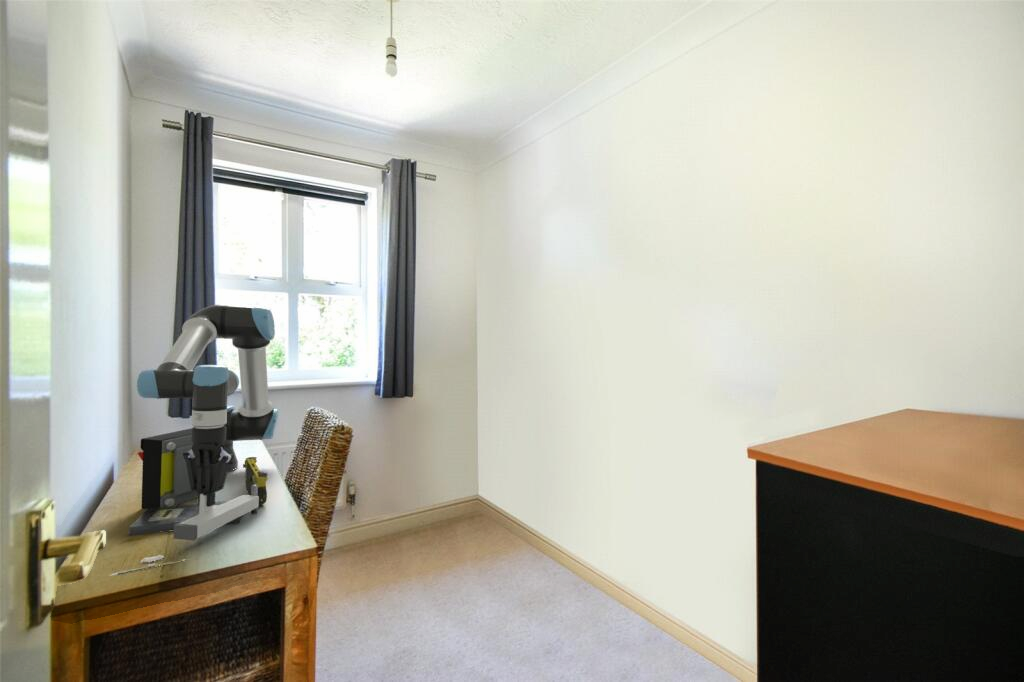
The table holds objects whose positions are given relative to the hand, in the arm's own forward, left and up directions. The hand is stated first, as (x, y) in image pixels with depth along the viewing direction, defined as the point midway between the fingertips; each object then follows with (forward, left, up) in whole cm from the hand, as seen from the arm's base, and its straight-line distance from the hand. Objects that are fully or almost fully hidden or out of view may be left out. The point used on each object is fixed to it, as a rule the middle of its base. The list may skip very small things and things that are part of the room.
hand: (205, 518), depth 119 cm
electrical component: (-29, -13, -4) cm, 32 cm away
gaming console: (-27, +8, -4) cm, 28 cm away
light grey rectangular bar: (+1, +3, -1) cm, 4 cm away
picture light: (+16, -7, -4) cm, 18 cm away
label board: (-10, -3, -3) cm, 11 cm away
